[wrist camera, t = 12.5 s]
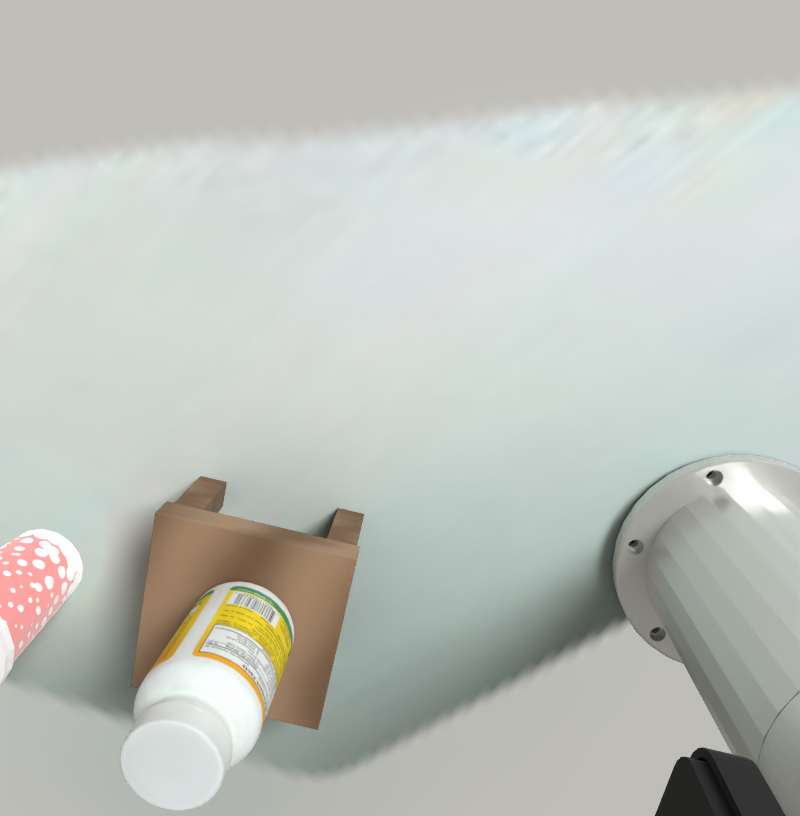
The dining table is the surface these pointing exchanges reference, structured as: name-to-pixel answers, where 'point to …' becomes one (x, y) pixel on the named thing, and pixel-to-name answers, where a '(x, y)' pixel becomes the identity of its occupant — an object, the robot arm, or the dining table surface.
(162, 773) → the supplement bottle
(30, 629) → the beverage cup
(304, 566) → the footstool
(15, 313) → the dining table surface
